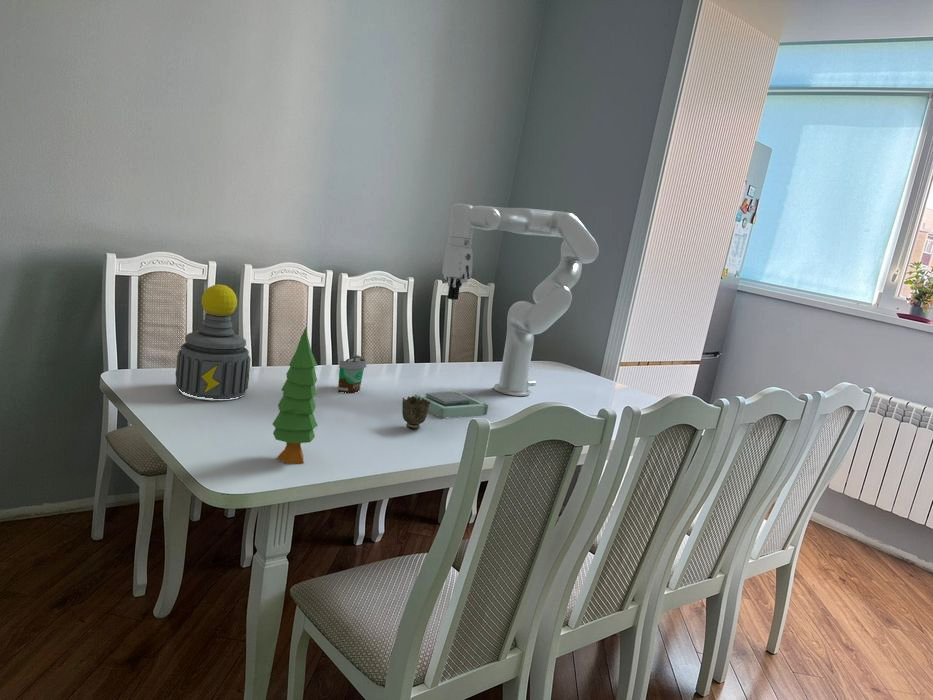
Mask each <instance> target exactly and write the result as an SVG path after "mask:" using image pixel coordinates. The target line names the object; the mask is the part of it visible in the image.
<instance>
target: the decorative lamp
mask: <svg viewBox="0 0 933 700" xmlns="http://www.w3.org/2000/svg"><path fill="white" fill-rule="evenodd" d="M201 306H202V309H203V310H204V312H205V315H204V319H202V322H201V324H202V326H200V327H199V330H195V331H192V332H189V333H187V334H186V335H185V337H184V341H185V343H183V344H182V345H180V349H179V350H178V352H177V355H176V369H175V384H176V387H177V389H178V388H179V389H180V390H181V391H182V392H185V393H187V394H190V395H193V396H197V397H205V398H213V399H230V398H236V397H240V396H242V395H243V394H244V393H245V394H246V391H248V388H249V380H250V372H251V357H250V355H249V354H250V353H249V350H248V349H247V348H246V346H247V341H246V339H245V337H242V336H241V335H239V334H237V333H235V332H234V329H233V322H232V316H231V315H232V314H233V313H234V312H235V310H236V308H237V306H238V297H237V295H236V293H235V292H234V290H233V289H232V288H231V287H230V286H228V285H225V284H213V285H211V286H209V287H207V289H205V290H204V291H203V294H202V296H201ZM245 394H244V395H245ZM244 395H243V396H244ZM243 396H242V397H243ZM240 398H241V397H240Z"/></svg>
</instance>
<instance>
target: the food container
mask: <svg viewBox="0 0 933 700" xmlns="http://www.w3.org/2000/svg"><path fill="white" fill-rule="evenodd" d="M338 368H339V373H338V384H337V385H338V386H337V387H338V388H337V393H340V392H344V393H343V394H356V393H355V392H358V391H359V392H360V391H361V386H362V381H363V375H364V371H365V369H366V368H367V360H366V358H365V357H363V356H360V355H357V354H353V355H352V357H351V358H347V359H346V360H340V362H339V365H338ZM345 392H346V393H345ZM359 392H358V393H359Z"/></svg>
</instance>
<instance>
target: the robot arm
mask: <svg viewBox="0 0 933 700" xmlns="http://www.w3.org/2000/svg"><path fill="white" fill-rule="evenodd" d="M449 224H450V225H449V231H448V232H449V233H448V239H447V240H448V241H447V245H446V248H445V251H444V256H443V262H442V275H443V279H444V280H446V282H447V286H448V291H447V299H449V300H454V301H455V300H459V295H460V288H462V285H463V284H467V283H468V280H471V278H472V274H473V263H474V262H473V257H474V255H473V249H472V245H473V233H474V229H479V230H482V231H483V230H484V231H492V230H496V231H497V230H498V231H505V232H510V233H514V234H519V235H529V236H542V237H555V238H556V237H557V238H562V239H563V241H562V243H561V246H560V262H559V263H558V264H559V265H558V266H557V267H556V268H555V269H554V270H553V271H552V272H551V273H550V274H549V275H548V276H547V277H546V278H545V279H543V281H541V282H540V283H539V284H538V285H537V286H536V287H535V289H534V290H533V293H532V299H533V301H534V303H535V304H534V303H532V302H529V301H526V300H520V301H516V302H515V303H513V304H512V305H511V306H510V307H509V309H508V312H507V316H506V317H507V319H506V320H507V322H506V323H507V324H506V326H507V327H506V338H505V344H504V351H503V357H502V362H501V370H500V376H499V382H498V383H495V384H494V385H493V389H494V391H496V392H498V393H501V394H505V395H508V396H513V397H514V396H517V397H526V396H529V395H530V394H531V390H530V389H529V388H530V387H535V386H537V382H536V380H530V379H529V377H528V376H529V374H530V373H529V372H530V367H531V359H532V354H533V350H534V349H533V348H534V342H535V335H540V334H542V333H544V332H545V331H547V330H548V329H549V328H550V327H551V326H552V325H554V323H555V322H556V321H557V320H558V319H560V318H561V317H562V316H563V315H565V313H566V312H567V311H568V310H569V308H570V306H571V305H572V304H571V303H572V300H573V294H572V291H571V289H573V287H575V285H577V283H578V282H579V280H580V277H581V275H582V269H583V264H585V265H586V264H591V263H593V262H594V261H595V260H596V259H597V258H598V256H599V252H600V248H599V245H598V243H597V241H596V239H595V238H594V237H593V236H592V234H591V233H590V231H589V230H588V229H587V228H586V227H585V224H583V223H582V221H581V220H580V219H579V218H578V217H577V216H576V215H575V214H574V213H572V212H567V211H566V212H565V211H561V210H560V211H558V210H547V209H537V208H528V207H498V206H488V205H487V206H486V205H475V206H474V205H472V204H465V203H455V204H453V205H452V208H451V216H450V223H449Z"/></svg>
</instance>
